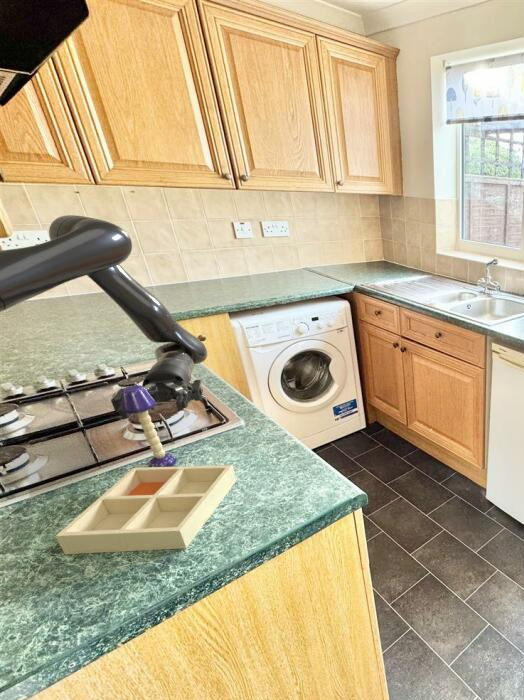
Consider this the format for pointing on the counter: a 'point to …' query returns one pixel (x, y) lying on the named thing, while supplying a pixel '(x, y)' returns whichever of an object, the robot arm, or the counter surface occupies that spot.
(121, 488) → the grid
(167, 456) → the toy lamp
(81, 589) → the counter surface
